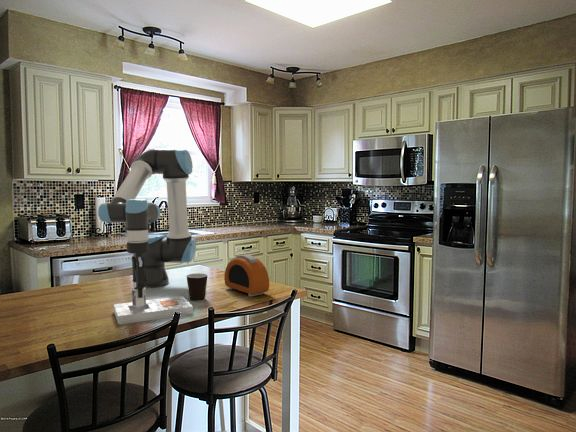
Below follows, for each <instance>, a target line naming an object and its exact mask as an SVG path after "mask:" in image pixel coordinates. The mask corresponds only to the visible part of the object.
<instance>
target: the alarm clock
mask: <svg viewBox="0 0 576 432" xmlns="http://www.w3.org/2000/svg"><path fill="white" fill-rule="evenodd" d="M267 270H268V269H266V266H265V265H264V263H263V262H262V261H261V260H260V259H259V258H256V257H255V256H253V255H251V254H241V255H240V254H239V255H237V256H235V258H233V259H231V260H230V261H229V262H228V263H227V264H226V267H225V271H224V285H225V286H226V287H227V288H228V290H231V291H232V290H237V291H240V292H243V293H246V294H248V297H255V296H259V295H263V294H264V293H267V292H268V291H270V278H269V273H268V271H267Z"/></svg>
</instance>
